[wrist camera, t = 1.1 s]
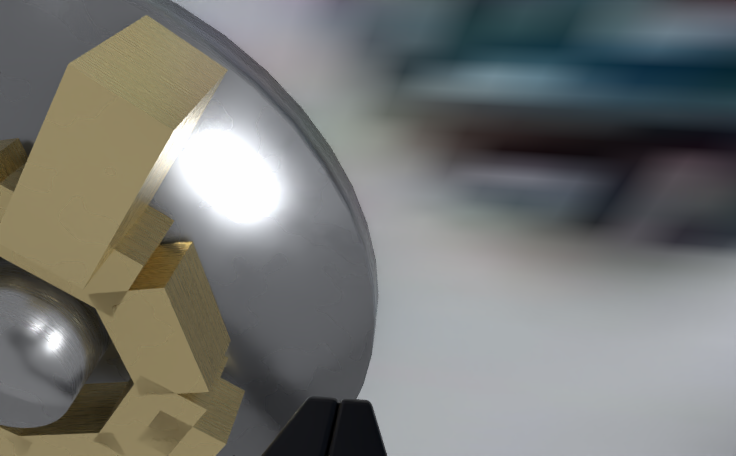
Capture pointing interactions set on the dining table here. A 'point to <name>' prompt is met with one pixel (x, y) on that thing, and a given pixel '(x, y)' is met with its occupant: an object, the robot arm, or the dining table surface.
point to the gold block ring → (123, 248)
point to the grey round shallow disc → (200, 233)
